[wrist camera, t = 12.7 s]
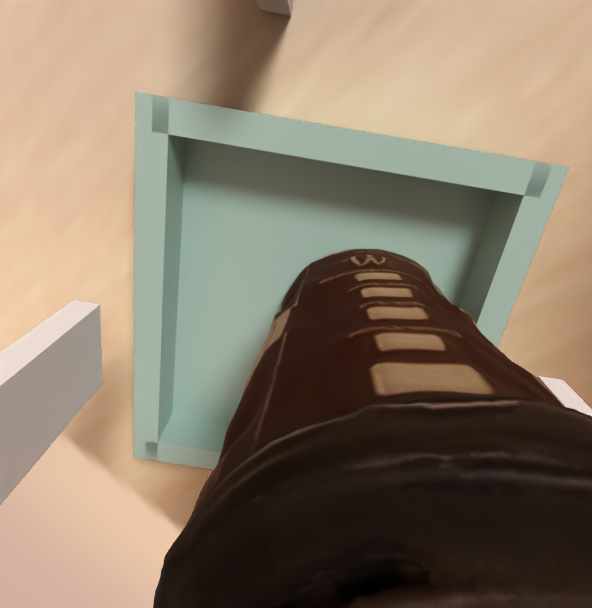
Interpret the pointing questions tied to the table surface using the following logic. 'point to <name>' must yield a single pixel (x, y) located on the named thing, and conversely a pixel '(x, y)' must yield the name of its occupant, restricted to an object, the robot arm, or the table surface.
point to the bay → (276, 6)
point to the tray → (296, 244)
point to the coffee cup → (388, 463)
